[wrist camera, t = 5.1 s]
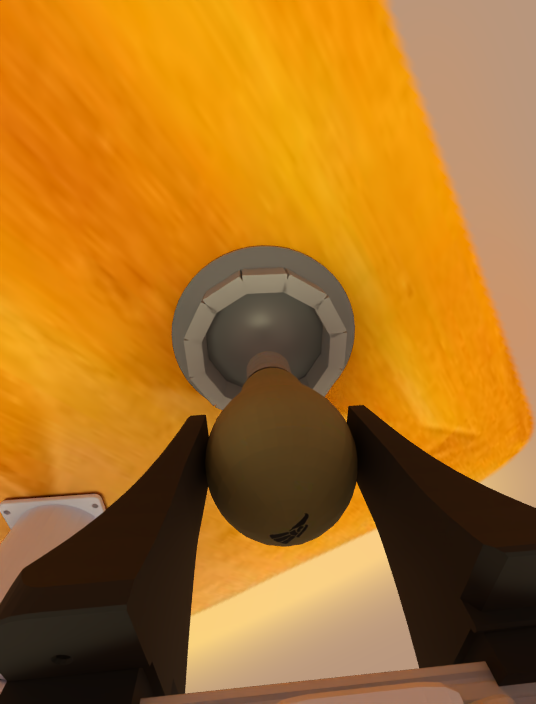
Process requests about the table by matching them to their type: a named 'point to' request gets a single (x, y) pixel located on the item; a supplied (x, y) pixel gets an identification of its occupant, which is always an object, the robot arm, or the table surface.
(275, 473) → the light bulb
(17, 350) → the table surface
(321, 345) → the bulb holder
